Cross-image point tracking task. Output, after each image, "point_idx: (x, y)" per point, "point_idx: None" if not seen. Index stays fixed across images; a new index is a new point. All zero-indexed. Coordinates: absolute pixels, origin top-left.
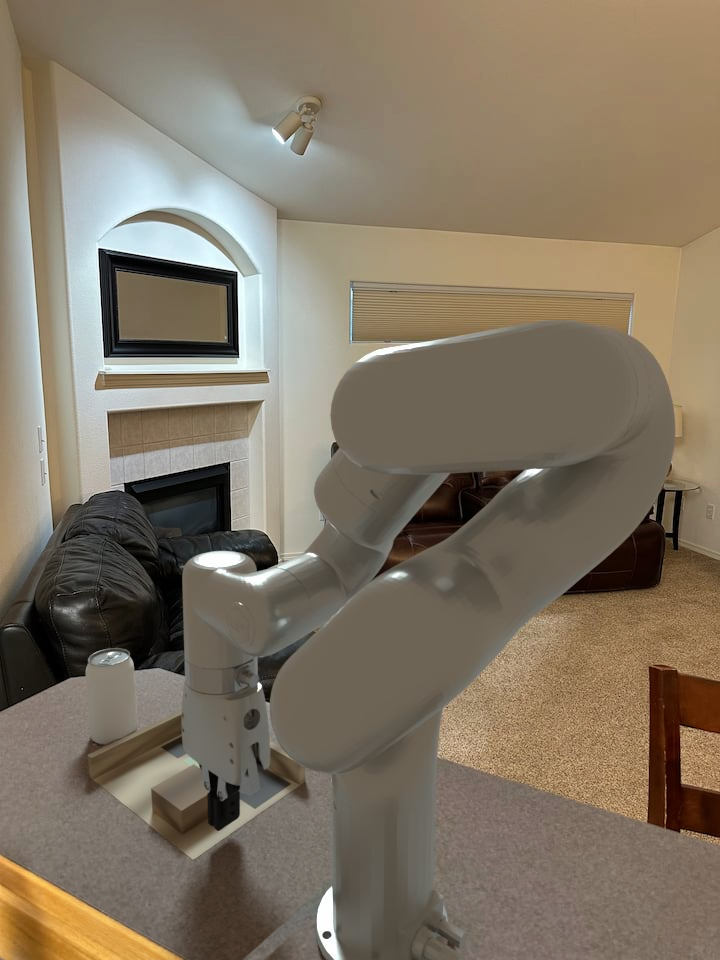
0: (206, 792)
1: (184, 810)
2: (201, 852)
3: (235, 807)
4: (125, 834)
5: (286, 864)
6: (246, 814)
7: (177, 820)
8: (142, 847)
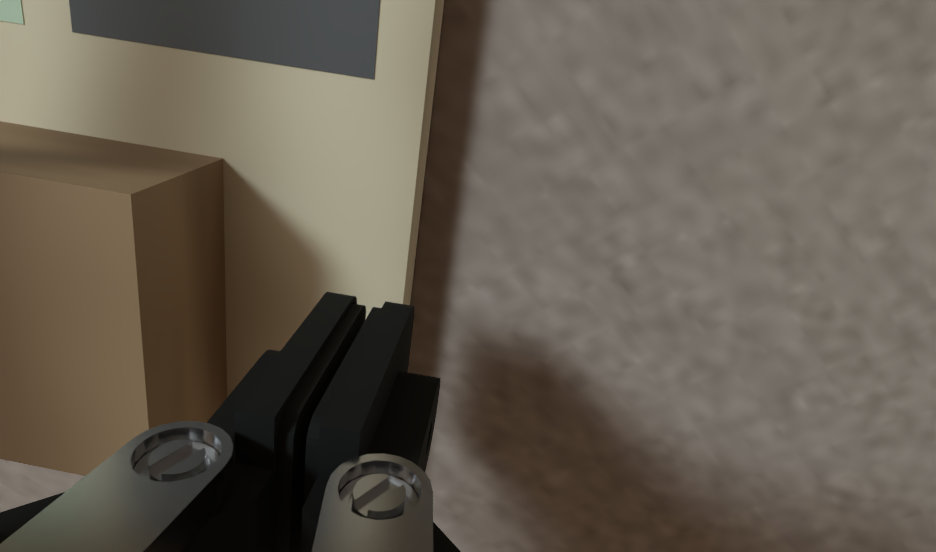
0: (119, 321)
1: None
2: None
3: (427, 434)
4: None
5: (750, 268)
6: (366, 144)
7: None
8: None
